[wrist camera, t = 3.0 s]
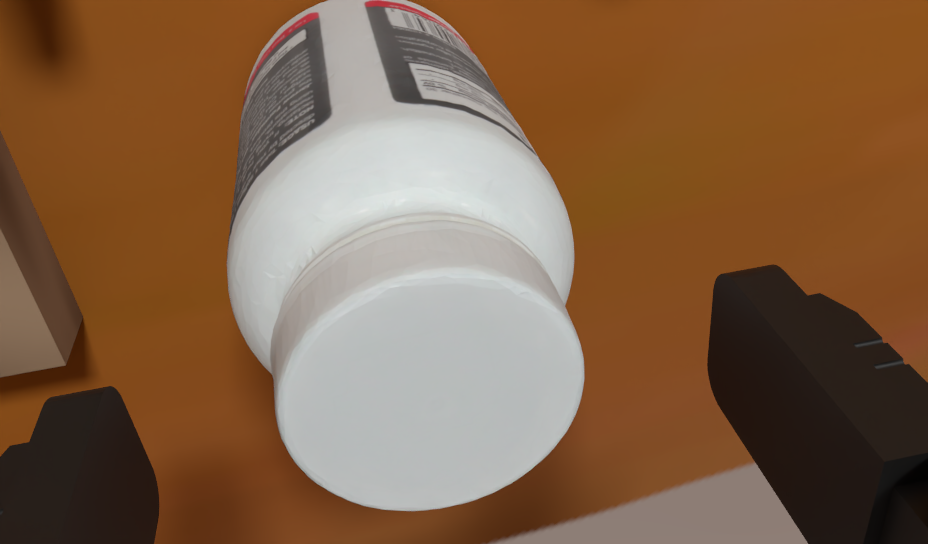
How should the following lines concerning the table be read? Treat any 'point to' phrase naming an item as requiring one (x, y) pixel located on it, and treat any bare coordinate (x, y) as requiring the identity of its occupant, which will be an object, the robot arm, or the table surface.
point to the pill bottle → (400, 261)
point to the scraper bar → (30, 284)
